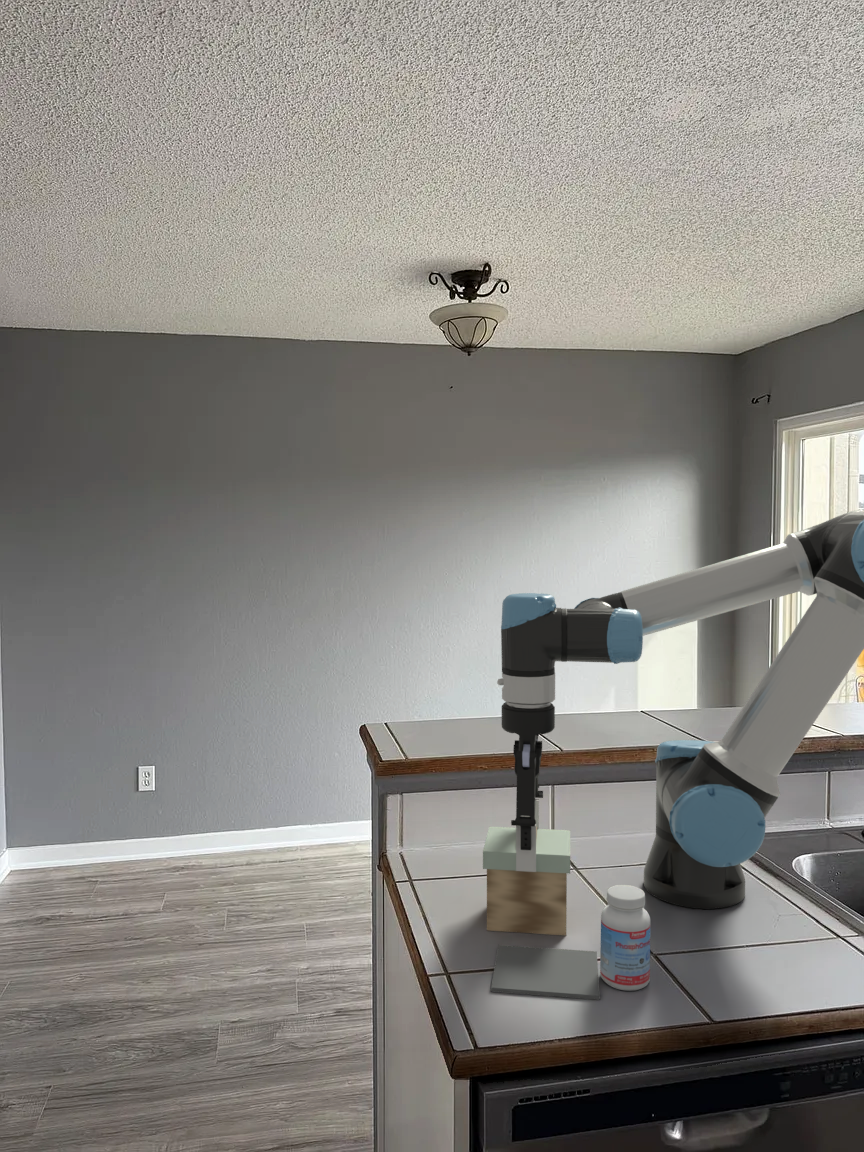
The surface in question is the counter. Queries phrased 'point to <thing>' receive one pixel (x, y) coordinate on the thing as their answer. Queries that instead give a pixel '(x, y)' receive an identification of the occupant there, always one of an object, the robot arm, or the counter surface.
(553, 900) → the box
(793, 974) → the counter surface
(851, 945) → the counter surface
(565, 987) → the mat
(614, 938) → the pill bottle
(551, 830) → the lid
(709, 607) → the robot arm
